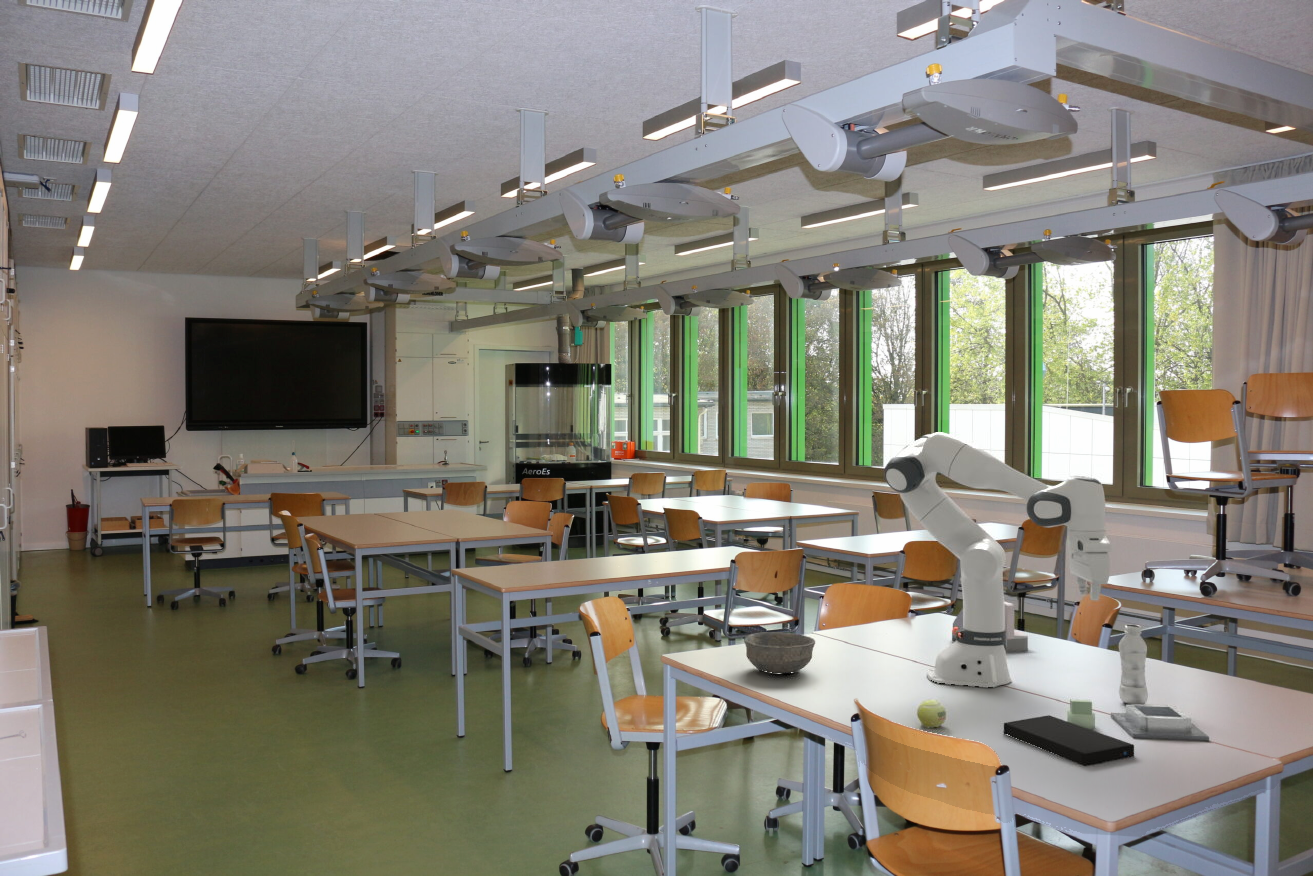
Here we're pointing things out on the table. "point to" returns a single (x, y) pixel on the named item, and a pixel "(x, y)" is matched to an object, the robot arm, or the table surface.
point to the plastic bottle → (1133, 666)
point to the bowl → (779, 651)
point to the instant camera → (1014, 638)
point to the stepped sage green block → (1081, 713)
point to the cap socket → (1158, 723)
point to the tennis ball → (931, 713)
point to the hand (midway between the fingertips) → (1088, 597)
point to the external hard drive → (1069, 740)
